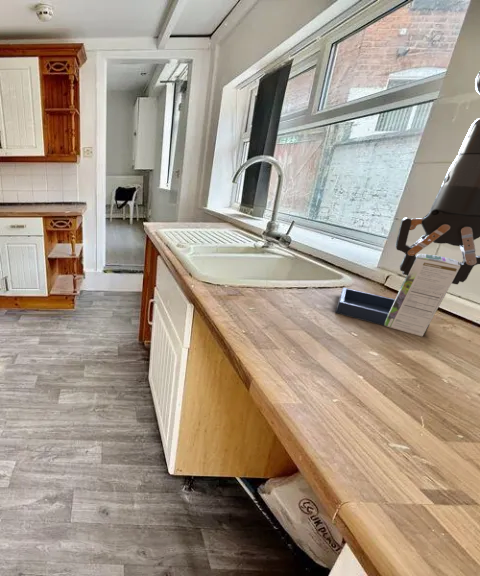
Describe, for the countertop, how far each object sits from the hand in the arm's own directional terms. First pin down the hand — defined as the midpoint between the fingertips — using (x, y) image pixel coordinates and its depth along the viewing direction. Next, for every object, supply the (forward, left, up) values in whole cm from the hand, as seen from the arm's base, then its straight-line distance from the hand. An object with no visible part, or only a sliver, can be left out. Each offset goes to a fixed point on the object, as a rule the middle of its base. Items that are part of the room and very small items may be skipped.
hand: (428, 278), depth 57 cm
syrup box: (0, 0, -11) cm, 11 cm away
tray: (+3, -15, -14) cm, 21 cm away
